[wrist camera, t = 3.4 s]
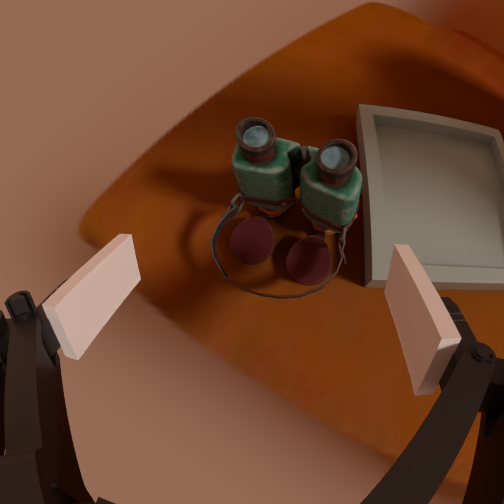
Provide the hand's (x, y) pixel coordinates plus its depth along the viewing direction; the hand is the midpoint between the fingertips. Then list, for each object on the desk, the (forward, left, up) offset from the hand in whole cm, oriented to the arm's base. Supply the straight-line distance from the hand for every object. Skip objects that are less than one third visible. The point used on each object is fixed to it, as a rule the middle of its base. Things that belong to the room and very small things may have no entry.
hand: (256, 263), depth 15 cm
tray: (-15, -9, -9) cm, 20 cm away
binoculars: (-1, -4, -9) cm, 10 cm away
